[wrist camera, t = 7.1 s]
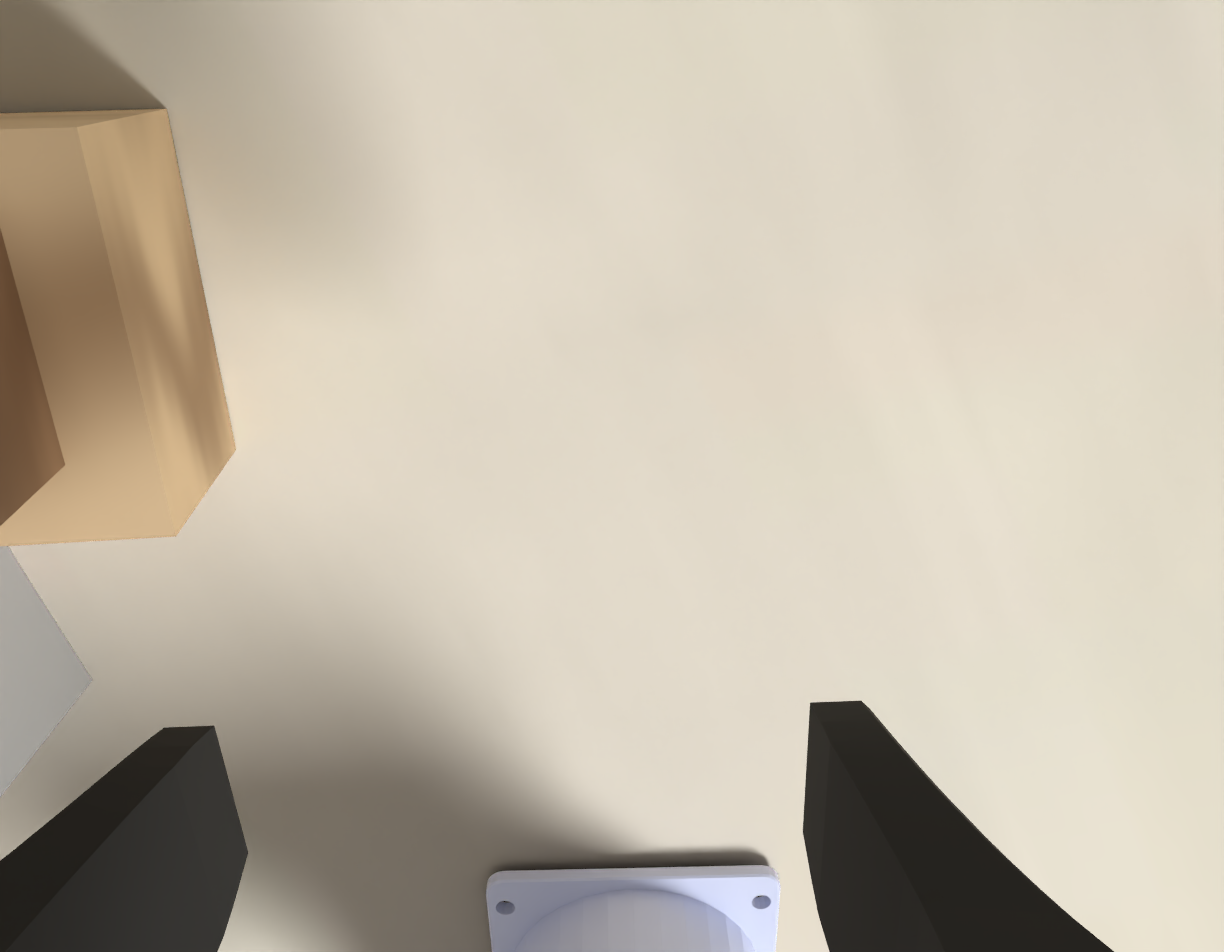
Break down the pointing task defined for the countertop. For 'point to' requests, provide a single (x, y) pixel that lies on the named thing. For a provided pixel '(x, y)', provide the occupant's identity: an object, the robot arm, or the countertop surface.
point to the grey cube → (30, 670)
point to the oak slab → (111, 324)
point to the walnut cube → (21, 406)
